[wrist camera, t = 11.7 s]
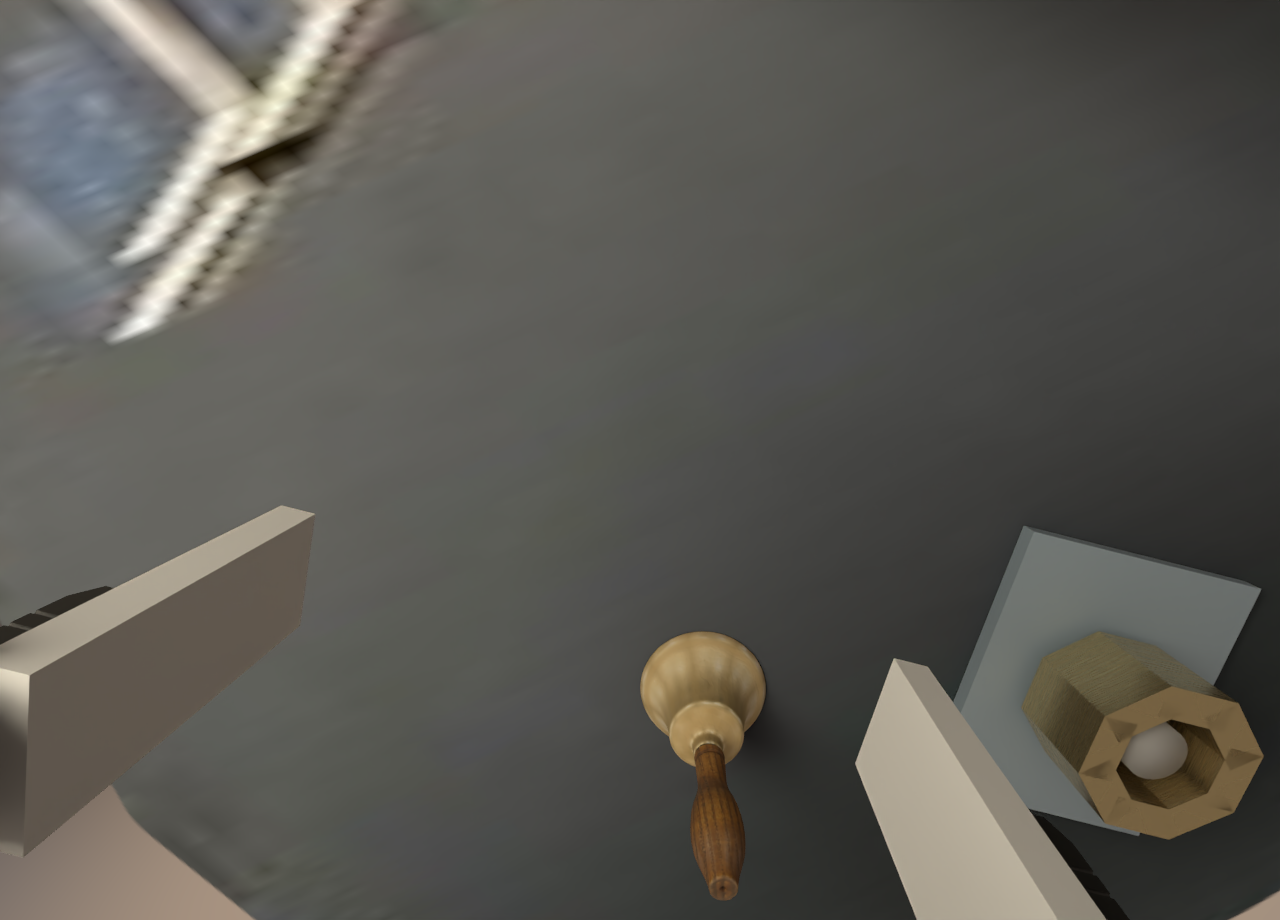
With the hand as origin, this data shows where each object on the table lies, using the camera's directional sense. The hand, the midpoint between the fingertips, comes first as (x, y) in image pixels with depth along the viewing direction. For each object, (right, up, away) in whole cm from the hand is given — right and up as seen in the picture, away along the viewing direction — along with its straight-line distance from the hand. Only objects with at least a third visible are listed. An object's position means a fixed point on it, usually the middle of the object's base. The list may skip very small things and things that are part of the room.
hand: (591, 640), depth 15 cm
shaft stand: (+29, -10, +28) cm, 42 cm away
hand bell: (+5, -11, +30) cm, 32 cm away
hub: (+29, -11, +26) cm, 40 cm away
